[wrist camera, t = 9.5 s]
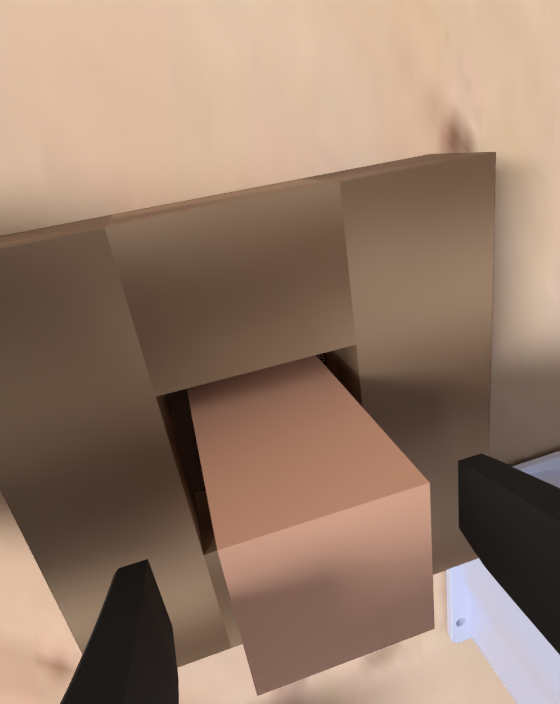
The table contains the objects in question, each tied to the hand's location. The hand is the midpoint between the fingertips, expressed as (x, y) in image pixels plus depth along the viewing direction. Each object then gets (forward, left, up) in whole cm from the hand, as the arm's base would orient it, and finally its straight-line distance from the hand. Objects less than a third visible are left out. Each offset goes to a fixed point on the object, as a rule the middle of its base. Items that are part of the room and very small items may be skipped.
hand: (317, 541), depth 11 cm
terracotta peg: (0, 0, -7) cm, 7 cm away
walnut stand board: (0, 0, -7) cm, 7 cm away
